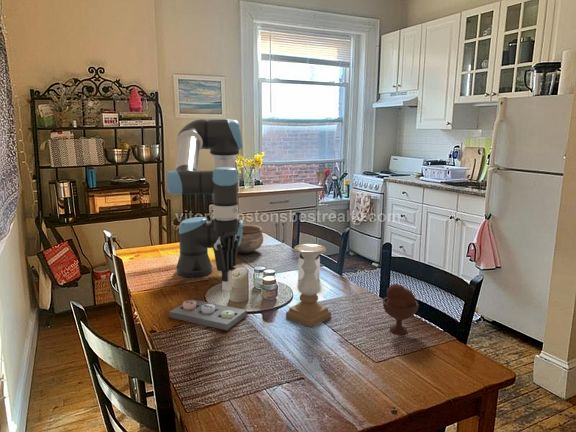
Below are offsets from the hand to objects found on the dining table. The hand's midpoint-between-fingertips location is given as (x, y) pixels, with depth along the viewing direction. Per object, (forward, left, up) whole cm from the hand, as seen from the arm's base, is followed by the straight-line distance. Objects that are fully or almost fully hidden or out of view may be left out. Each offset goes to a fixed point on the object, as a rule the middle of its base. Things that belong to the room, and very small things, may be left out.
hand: (227, 289), depth 143 cm
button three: (-7, 0, -11) cm, 13 cm away
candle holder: (+23, +14, -11) cm, 29 cm away
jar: (+9, +49, -11) cm, 51 cm away
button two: (-15, 0, -10) cm, 18 cm away
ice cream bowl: (+52, +17, -11) cm, 55 cm away
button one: (0, 0, -11) cm, 11 cm away
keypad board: (-7, 0, -11) cm, 13 cm away
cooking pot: (-35, +72, -11) cm, 81 cm away
